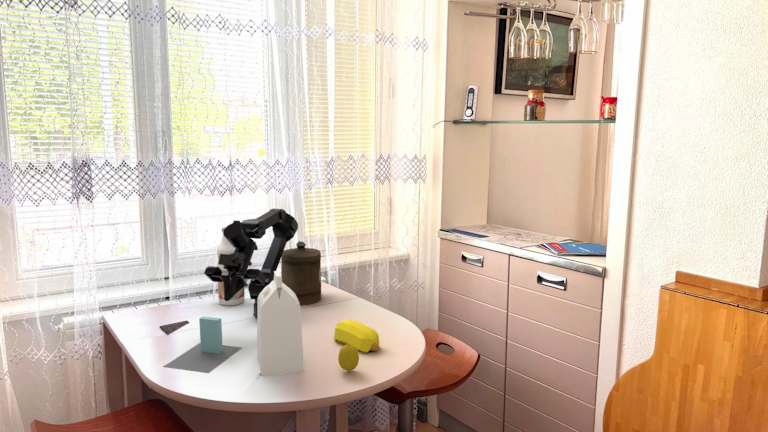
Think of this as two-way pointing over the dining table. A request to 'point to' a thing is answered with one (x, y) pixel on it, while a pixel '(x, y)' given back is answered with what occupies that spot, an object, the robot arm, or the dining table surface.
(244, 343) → the dining table surface
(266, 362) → the milk
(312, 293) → the wooden container
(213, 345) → the card box
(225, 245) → the fruit juice
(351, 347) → the lemon
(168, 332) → the chocolate bar
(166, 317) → the dining table surface
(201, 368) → the mat
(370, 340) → the yellow kitchen sponge
